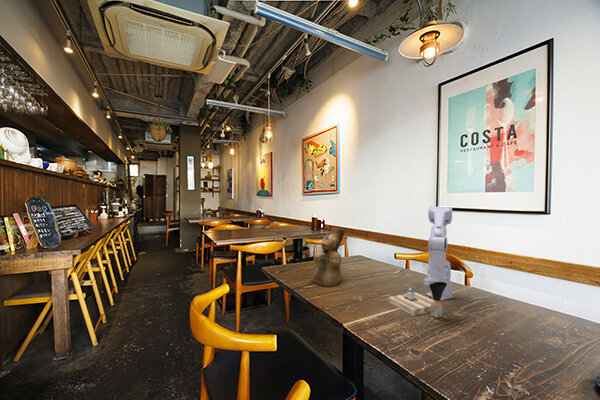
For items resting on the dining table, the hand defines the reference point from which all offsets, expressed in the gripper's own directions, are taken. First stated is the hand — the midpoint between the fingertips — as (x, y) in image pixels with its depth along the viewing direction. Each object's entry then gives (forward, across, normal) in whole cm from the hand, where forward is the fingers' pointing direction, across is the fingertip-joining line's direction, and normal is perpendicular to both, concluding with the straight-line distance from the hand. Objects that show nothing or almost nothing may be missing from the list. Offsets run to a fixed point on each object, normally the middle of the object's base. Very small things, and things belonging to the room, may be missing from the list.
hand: (436, 300), depth 100 cm
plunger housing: (+7, 0, 0) cm, 7 cm away
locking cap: (+5, 0, 0) cm, 5 cm away
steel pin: (+7, -2, -13) cm, 15 cm away
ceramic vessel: (+7, +13, -55) cm, 57 cm away
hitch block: (+7, -1, -11) cm, 13 cm away
